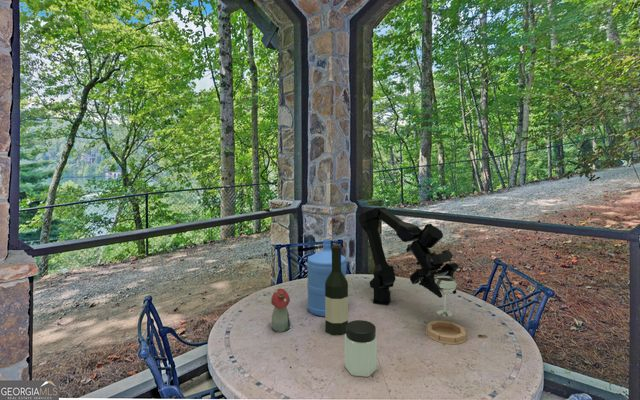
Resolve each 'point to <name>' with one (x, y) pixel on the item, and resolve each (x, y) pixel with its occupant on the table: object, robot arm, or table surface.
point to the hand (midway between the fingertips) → (448, 295)
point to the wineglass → (445, 290)
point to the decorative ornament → (280, 311)
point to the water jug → (320, 277)
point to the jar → (361, 348)
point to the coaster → (446, 332)
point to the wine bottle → (336, 296)
